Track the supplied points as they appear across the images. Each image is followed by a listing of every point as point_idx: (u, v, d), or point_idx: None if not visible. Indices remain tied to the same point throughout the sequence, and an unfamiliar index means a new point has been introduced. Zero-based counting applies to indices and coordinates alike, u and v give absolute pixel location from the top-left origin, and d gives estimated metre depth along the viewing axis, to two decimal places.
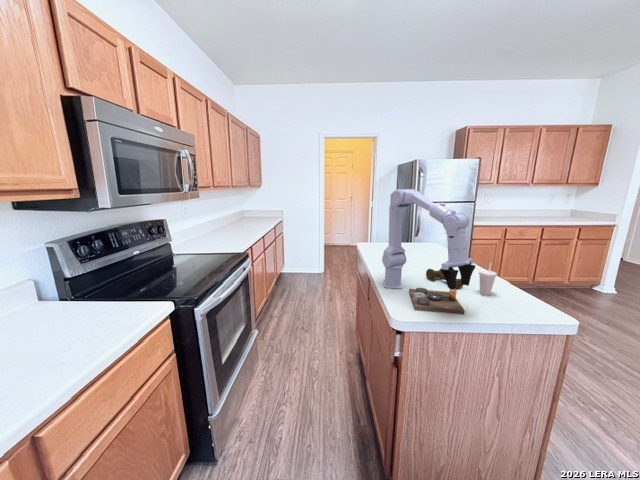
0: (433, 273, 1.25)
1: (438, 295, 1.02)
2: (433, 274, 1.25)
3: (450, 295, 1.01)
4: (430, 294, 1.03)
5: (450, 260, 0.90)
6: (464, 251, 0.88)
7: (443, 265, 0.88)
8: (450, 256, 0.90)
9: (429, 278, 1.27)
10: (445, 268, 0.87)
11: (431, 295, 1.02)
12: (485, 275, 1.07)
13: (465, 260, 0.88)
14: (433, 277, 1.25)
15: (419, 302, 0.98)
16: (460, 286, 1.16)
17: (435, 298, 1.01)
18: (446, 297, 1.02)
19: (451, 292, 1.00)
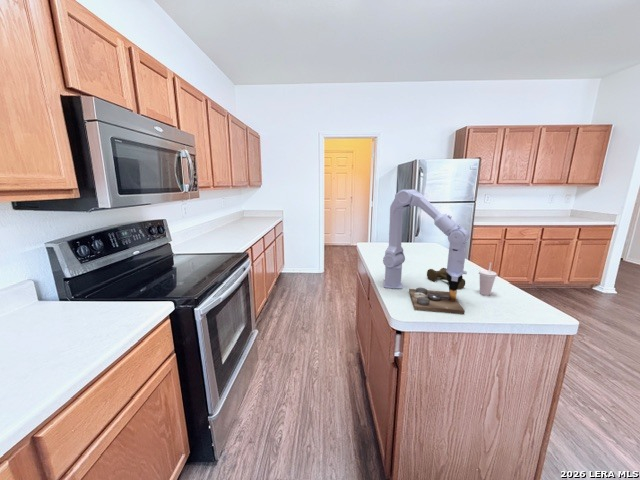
0: (434, 273, 1.24)
1: (438, 295, 1.02)
2: (434, 274, 1.24)
3: (450, 295, 1.01)
4: (430, 294, 1.03)
5: (452, 271, 0.99)
6: None
7: (454, 277, 0.95)
8: (453, 267, 0.98)
9: (430, 278, 1.27)
10: (456, 280, 0.95)
11: (431, 295, 1.03)
12: (485, 275, 1.07)
13: (463, 270, 1.00)
14: (434, 277, 1.24)
15: (419, 302, 0.98)
16: (462, 286, 1.16)
17: (435, 298, 1.01)
18: (446, 297, 1.01)
19: (451, 292, 1.00)
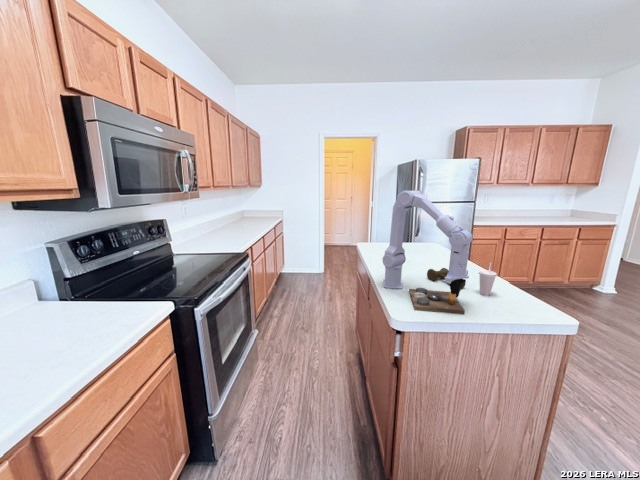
0: (434, 273, 1.24)
1: (438, 296, 1.02)
2: (434, 274, 1.24)
3: (448, 298, 0.98)
4: (431, 293, 1.04)
5: (451, 273, 0.96)
6: (465, 266, 0.94)
7: (446, 279, 0.93)
8: (452, 269, 0.96)
9: (430, 278, 1.27)
10: (448, 282, 0.93)
11: (430, 294, 1.03)
12: (485, 275, 1.07)
13: (465, 274, 0.95)
14: (434, 277, 1.24)
15: (419, 302, 0.98)
16: (462, 286, 1.16)
17: (431, 297, 1.01)
18: (445, 299, 1.00)
19: (449, 295, 0.98)
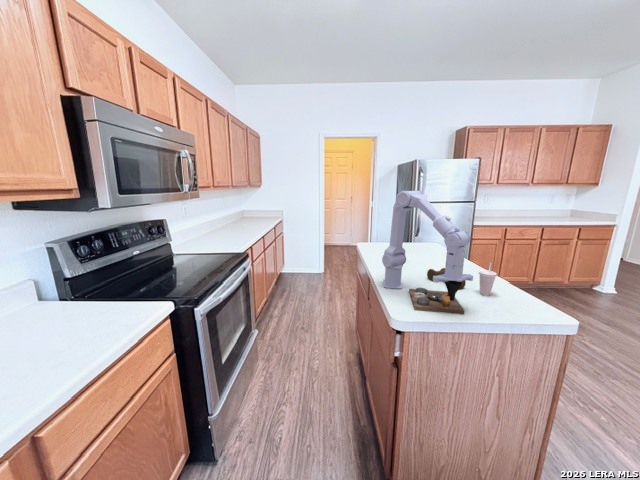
0: (434, 273, 1.24)
1: (436, 296, 1.01)
2: (434, 274, 1.24)
3: None
4: (432, 293, 1.04)
5: (445, 274, 0.95)
6: (458, 269, 0.91)
7: (434, 278, 0.94)
8: (445, 270, 0.95)
9: (430, 278, 1.27)
10: (435, 281, 0.94)
11: (431, 293, 1.04)
12: (485, 275, 1.07)
13: (458, 277, 0.92)
14: None
15: (419, 302, 0.98)
16: (462, 286, 1.16)
17: (429, 296, 1.03)
18: (440, 300, 0.99)
19: (443, 296, 0.97)
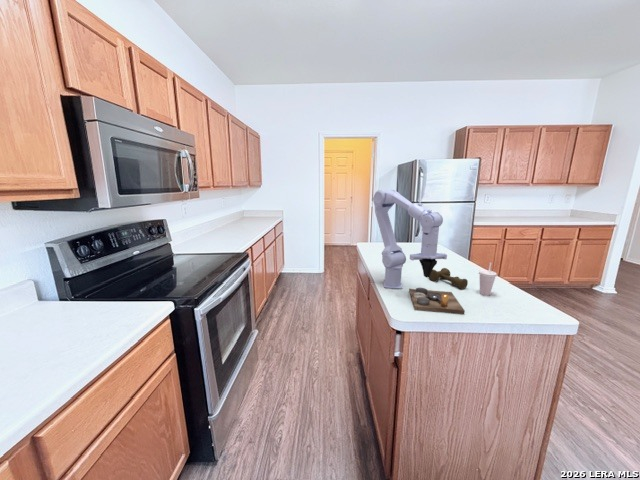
0: (436, 274, 1.24)
1: (436, 296, 1.01)
2: (436, 275, 1.24)
3: None
4: (433, 293, 1.04)
5: (421, 253, 1.03)
6: (432, 247, 1.00)
7: (410, 256, 1.03)
8: (421, 249, 1.03)
9: (432, 279, 1.26)
10: (411, 259, 1.02)
11: (431, 293, 1.04)
12: (485, 275, 1.07)
13: (432, 255, 1.00)
14: (436, 278, 1.24)
15: (419, 302, 0.98)
16: (464, 286, 1.16)
17: (428, 296, 1.03)
18: (439, 300, 0.99)
19: (441, 296, 0.97)
